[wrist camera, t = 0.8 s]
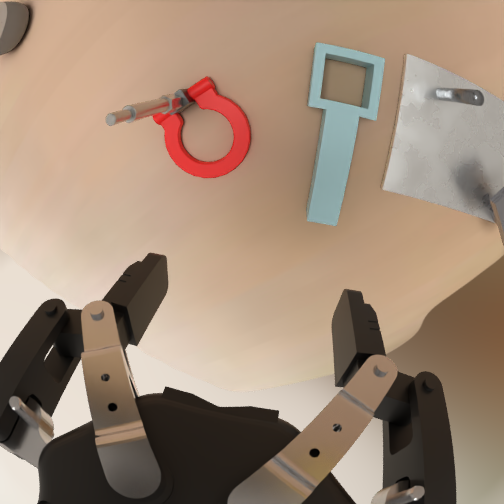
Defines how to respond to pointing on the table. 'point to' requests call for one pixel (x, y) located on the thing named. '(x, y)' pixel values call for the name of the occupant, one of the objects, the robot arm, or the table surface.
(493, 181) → the board
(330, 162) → the link
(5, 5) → the smart speaker
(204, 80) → the tow hook
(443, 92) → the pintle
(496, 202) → the block
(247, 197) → the table surface
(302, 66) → the table surface
